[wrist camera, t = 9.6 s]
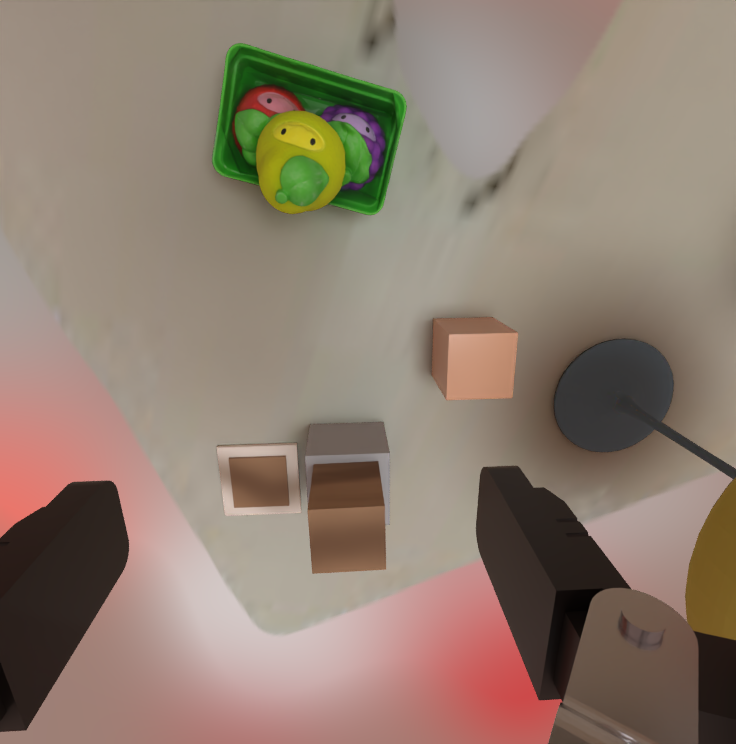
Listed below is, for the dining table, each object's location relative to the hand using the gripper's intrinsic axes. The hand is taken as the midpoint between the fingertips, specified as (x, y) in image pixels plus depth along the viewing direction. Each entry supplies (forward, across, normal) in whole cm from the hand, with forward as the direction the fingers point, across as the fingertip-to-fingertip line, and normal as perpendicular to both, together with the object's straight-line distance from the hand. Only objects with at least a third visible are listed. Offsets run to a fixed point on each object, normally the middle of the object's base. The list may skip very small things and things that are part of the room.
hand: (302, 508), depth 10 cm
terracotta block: (+29, -11, +5) cm, 31 cm away
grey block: (+28, -1, +15) cm, 32 cm away
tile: (+28, +7, +17) cm, 34 cm away
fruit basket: (+29, +1, -10) cm, 31 cm away
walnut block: (+22, -1, +15) cm, 27 cm away
